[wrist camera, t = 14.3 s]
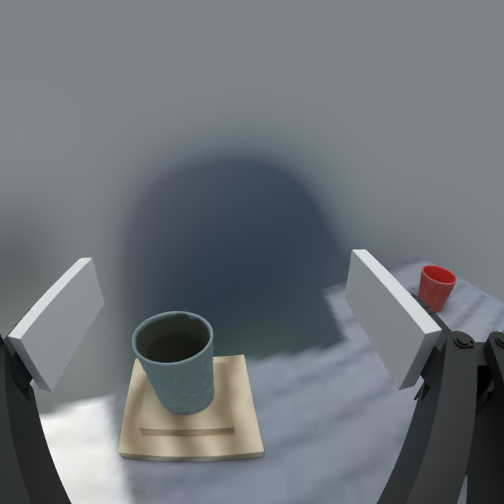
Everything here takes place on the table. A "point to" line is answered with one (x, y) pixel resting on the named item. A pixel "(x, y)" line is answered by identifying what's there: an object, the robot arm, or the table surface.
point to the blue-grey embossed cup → (177, 359)
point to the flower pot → (435, 286)
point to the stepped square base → (193, 420)
